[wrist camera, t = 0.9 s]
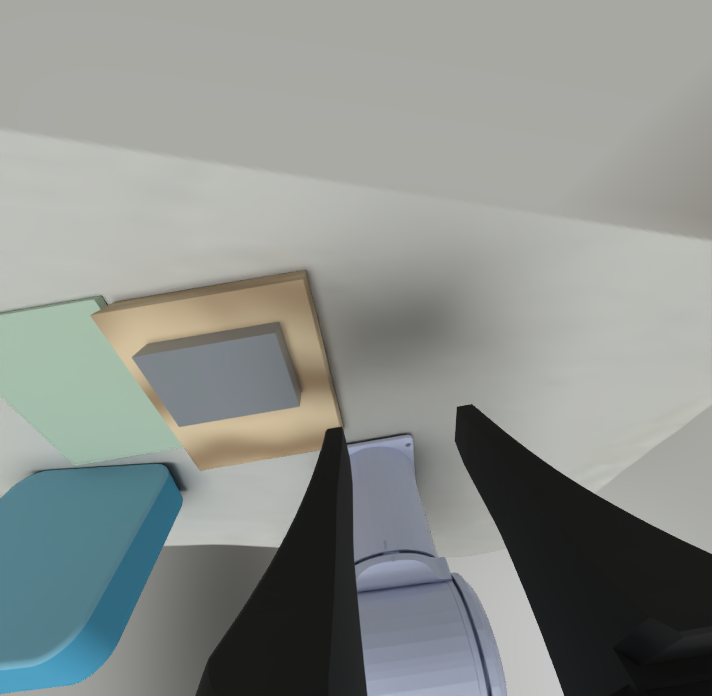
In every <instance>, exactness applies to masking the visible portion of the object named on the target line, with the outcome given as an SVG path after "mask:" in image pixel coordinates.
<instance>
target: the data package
mask: <svg viewBox="0 0 712 696" xmlns="http://www.w3.org/2000/svg"><path fill="white" fill-rule="evenodd" d="M182 502H183V499H182V495H181V494H180V492H179V490H178V488H177V486H176V484H175V482H174V480H173V478H172V476H171V474H170V472H169V471H168V469H167V467H166V466H164V465H162V464H142V465H126V466H110V467H94V468H78V469H62V470H48V471H43V472H39V473H36V474H34V475H31V476H29V477H27V478H25V479H24V480H22V481H20V482H19V483H17V484H16V485H15V486H13V487H12V488H11V489H10V490H9V491H8V492H7V493H6V494H5V495H4V496H2V497H1V498H0V694H3V693H11V692H19V691H27V690H35V689H43V688H51V687H59V686H67V685H73V684H76V683H79V682H81V681H82V680H84V679H86V678H88V677H89V676H91V674H93V673H94V672H96V671H97V670H98V669H99V668H100V667H101V666H102V665H103V664H104V663H105V661H106V660H107V659H108V658H109V656H110V655H111V654H112V652H113V651H114V649H115V647H116V646H117V644H118V642H119V640H120V637H121V636H122V633H123V631H124V629H125V627H126V625H127V623H128V620H129V618H130V616H131V614H132V612H133V610H134V607H135V605H136V603H137V601H138V599H139V597H140V595H141V592H142V590H143V588H144V586H145V584H146V582H147V579H148V577H149V575H150V573H151V571H152V569H153V566H154V564H155V562H156V560H157V558H158V556H159V554H160V551H161V549H162V547H163V545H164V543H165V541H166V539H167V536H168V534H169V532H170V530H171V528H172V526H173V523H174V521H175V519H176V517H177V515H178V513H179V511H180V508H181V506H182Z"/></svg>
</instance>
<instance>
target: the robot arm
mask: <svg viewBox="0 0 712 696" xmlns="http://www.w3.org/2000/svg"><path fill="white" fill-rule="evenodd" d="M455 442H456V445H457V448H458V450H459V453H460V455H461V458H462V460H463V463H464V465H465V467H466V469H467V471H468V473H469V475H470V477H471V478H472V480H473V482H474V484H475V486H476V488H477V490H478V492H479V493H480V495H481V497H482V499H483V501H484V503H485V505H486V506H487V508H488V510H489V512H490V514H491V516H492V518H493V520H494V521H495V523H496V526H497V528H498V530H499V532H500V534H501V536H502V538H503V541H504V543H505V545H506V548H507V550H508V552H509V554H510V557H511V559H512V561H513V563H514V566H515V569H516V571H517V573H518V576H519V578H520V581H521V583H522V585H523V588H524V590H525V593H526V595H527V598H528V600H529V603H530V605H531V608H532V610H533V613H534V616H535V618H536V621H537V623H538V626H539V628H540V631H541V633H542V636H543V639H544V642H545V644H546V647H547V650H548V652H549V655H550V658H551V660H552V663H553V665H554V668H555V671H556V674H557V677H558V679H559V682H560V684H561V688H562V691H563V693H564V696H712V554H710V553H708V552H706V551H704V550H702V549H700V548H698V547H695V546H693V545H691V544H689V543H687V542H685V541H682V540H680V539H678V538H676V537H674V536H672V535H670V534H668V533H666V532H664V531H662V530H660V529H658V528H656V527H654V526H652V525H650V524H648V523H646V522H645V521H643V520H641V519H639V518H637V517H635V516H633V515H631V514H630V513H628V512H626V511H624V510H622V509H620V508H619V507H617V506H615V505H613V504H612V503H610V502H608V501H606V500H604V499H603V498H601V497H599V496H597V495H596V494H594V493H592V492H591V491H589V490H587V489H586V488H584V487H582V486H581V485H579V484H578V483H576V482H574V481H573V480H571V479H570V478H568V477H566V476H565V475H563V474H562V473H560V472H559V471H557V470H556V469H554V468H553V467H552V466H550V465H549V464H547V463H546V462H544V461H543V460H542V459H540V458H539V457H537V456H536V455H535V454H533V453H532V452H531V451H529V450H528V449H526V448H525V447H524V446H523V445H521V444H520V443H519V442H517V441H516V440H515V439H514V438H512V437H511V436H510V435H508V434H507V433H506V432H505V431H503V430H502V429H501V428H500V427H499V426H497V425H496V424H495V423H494V422H493V421H491V420H490V419H489V418H488V417H487V416H485V415H484V414H483V413H482V412H481V411H480V410H478V409H477V408H476V407H475V406H473V405H472V404H471V405H465V406H459V407H457V416H456V431H455ZM407 443H408V444H407ZM196 696H507V690H506V681H505V676H504V671H503V666H502V662H501V658H500V654H499V650H498V647H497V644H496V641H495V637H494V634H493V631H492V628H491V626H490V623H489V620H488V618H487V615H486V613H485V610H484V608H483V606H482V604H481V602H480V600H479V598H478V596H477V594H476V593H475V591H474V590H473V588H472V587H471V586H470V585H469V584H468V583H467V582H466V581H465V580H464V579H463V577H462V576H461V575H459V574H458V573H450V571H449V567H448V565H447V561H446V558H445V557H438V556H437V552H436V549H435V545H434V542H433V539H432V535H431V532H430V529H429V525H428V522H427V519H426V515H425V512H424V508H423V505H422V502H421V498H420V495H419V492H418V488H417V485H416V482H415V467H414V448H413V438H412V436H411V435H402V436H397V437H391V438H385V439H379V440H373V441H367V442H361V443H355V444H350V445H347V444H346V440H345V435H344V431H343V427H342V426H341V427H335V428H330V429H327V430H326V431H325V436H324V440H323V444H322V448H321V451H320V455H319V458H318V461H317V464H316V467H315V470H314V472H313V475H312V478H311V481H310V483H309V486H308V488H307V491H306V493H305V495H304V498H303V500H302V503H301V505H300V507H299V509H298V512H297V514H296V516H295V518H294V520H293V522H292V524H291V526H290V528H289V530H288V532H287V534H286V536H285V538H284V540H283V542H282V544H281V545H280V547H279V549H278V551H277V553H276V555H275V556H274V558H273V560H272V562H271V564H270V565H269V567H268V569H267V571H266V572H265V574H264V575H263V577H262V579H261V580H260V582H259V583H258V585H257V587H256V588H255V590H254V591H253V593H252V595H251V597H250V598H249V600H248V601H247V603H246V604H245V606H244V607H243V609H242V610H241V612H240V614H239V615H238V616H237V618H236V619H235V621H234V622H233V624H232V625H231V627H230V628H229V630H228V631H227V633H226V634H225V635H224V637H223V638H222V640H221V641H220V643H219V644H218V646H217V647H216V649H215V650H214V651H213V653H212V654H211V656H210V657H209V659H208V662H207V664H206V667H205V670H204V672H203V675H202V678H201V681H200V684H199V687H198V690H197V693H196Z"/></svg>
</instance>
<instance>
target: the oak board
mask: <svg viewBox="0 0 712 696" xmlns="http://www.w3.org/2000/svg"><path fill="white" fill-rule="evenodd" d="M90 316H91V318H92V319H93V320H94V322H95V323H96V325H97V326H98V328H99V329H100V330H101V332H102V333H103V335H104V336H105V337H106V339H107V340H108V342H109V343H110V344H111V346H112V347H113V349H114V350H115V351H116V353H117V354H118V356H119V357H120V359H121V360H122V361H123V363H124V364H125V366H126V367H127V368H128V370H129V371H130V373H131V374H132V375H133V377H134V378H135V380H136V381H137V382H138V384H139V385H140V387H141V388H142V390H143V391H144V392H145V394H146V395H147V397H148V398H149V399H150V401H151V402H152V404H153V405H154V406H155V408H156V409H157V411H158V412H159V414H160V415H161V416H162V418H163V419H164V421H165V422H166V423H167V425H168V426H169V428H170V429H171V430H172V432H173V433H174V435H175V436H176V437H177V439H178V440H179V442H180V443H181V445H182V446H183V447H184V449H185V450H186V452H187V453H188V454H189V456H190V457H191V459H192V460H193V461H194V463H195V464H196V466H197V467H198V469H199V470H200V471H201V470H207V469H213V468H219V467H225V466H231V465H236V464H242V463H248V462H254V461H260V460H266V459H272V458H278V457H283V456H289V455H295V454H301V453H307V452H313V451H319V450H321V448H322V444H323V440H324V436H325V431H326V430H327V429H330V428H335V427H341V426H342V427H343V424H342V420H341V415H340V411H339V407H338V403H337V399H336V394H335V390H334V386H333V382H332V378H331V373H330V369H329V365H328V361H327V357H326V353H325V348H324V344H323V340H322V336H321V332H320V327H319V323H318V319H317V315H316V311H315V306H314V302H313V298H312V294H311V290H310V286H309V281H308V277H307V273H306V270H302V271H296V272H290V273H284V274H278V275H272V276H267V277H261V278H255V279H249V280H243V281H237V282H231V283H225V284H219V285H213V286H207V287H201V288H196V289H190V290H184V291H178V292H172V293H166V294H160V295H154V296H148V297H142V298H136V299H131V300H125V301H119V302H114V303H112V304H110V305H108V306H106V307H104V308H102V309H101V310H99V311H97V312H95V313H93V314H91V315H90ZM273 322H280V325H281V328H282V332H283V335H284V338H285V341H286V344H287V347H288V350H289V353H290V356H291V360H292V363H293V366H294V369H295V372H296V375H297V378H298V381H299V385H300V388H301V391H302V394H301V402H300V407H295V408H289V409H283V410H277V411H271V412H265V413H259V414H253V415H247V416H242V417H236V418H230V419H224V420H218V421H212V422H206V423H200V424H195V425H189V426H183V427H179V426H178V425H177V423H176V422H175V420H174V419H173V417H172V416H171V414H170V413H169V412H168V410H167V409H166V407H165V406H164V404H163V403H162V401H161V400H160V398H159V397H158V395H157V394H156V392H155V391H154V390H153V388H152V387H151V385H150V384H149V382H148V381H147V379H146V378H145V376H144V375H143V373H142V372H141V371H140V369H139V368H138V366H137V365H136V363H135V362H134V360H133V359H132V356H134V355H135V354H136V353H137V352H138V351H139V350H141V349H142V348H143V347H144V346H145V345H146V344H149V343H155V342H161V341H167V340H173V339H179V338H185V337H191V336H196V335H202V334H208V333H214V332H220V331H226V330H232V329H238V328H244V327H250V326H256V325H261V324H267V323H273ZM343 431H344V429H343Z"/></svg>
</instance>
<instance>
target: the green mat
mask: <svg viewBox="0 0 712 696" xmlns="http://www.w3.org/2000/svg"><path fill="white" fill-rule="evenodd" d="M106 306H108V305H107V304H106V302H105V301H104V299H103V298H102V296H98V297H92V298H86V299H80V300H74V301H68V302H62V303H57V304H51V305H45V306H39V307H33V308H27V309H21V310H15V311H9V312H3V313H0V397H1V398H2V399H3V400H5V401H6V402H7V403H8V404H9V405H10V406H11V407H12V408H13V409H14V410H15V411H16V412H17V413H18V414H20V415H21V416H22V417H23V418H24V419H25V420H26V421H27V422H28V423H29V424H30V425H31V426H32V427H34V428H35V429H36V430H37V431H38V432H39V433H40V434H41V435H42V436H43V437H44V438H45V439H46V440H48V441H49V442H50V443H51V444H52V445H53V446H54V447H55V448H56V449H57V450H58V451H59V452H60V453H62V454H63V455H64V456H65V457H66V458H67V459H68V460H69V461H70V462H71V463H72V464H73V465H74V466H76V465H82V464H88V463H94V462H100V461H106V460H112V459H118V458H123V457H129V456H135V455H141V454H147V453H153V452H159V451H165V450H171V449H176V448H182V447H183V446H182V445H181V443H180V442H179V440H178V439H177V437H176V436H175V435H174V433H173V432H172V430H171V429H170V428H169V426H168V425H167V423H166V422H165V421H164V419H163V418H162V416H161V415H160V414H159V412H158V411H157V409H156V408H155V406H154V405H153V404H152V402H151V401H150V399H149V398H148V397H147V395H146V394H145V392H144V391H143V390H142V388H141V387H140V385H139V384H138V382H137V381H136V380H135V378H134V377H133V375H132V374H131V373H130V371H129V370H128V368H127V367H126V366H125V364H124V363H123V361H122V360H121V359H120V357H119V356H118V354H117V353H116V351H115V350H114V349H113V347H112V346H111V344H110V343H109V342H108V340H107V339H106V337H105V336H104V335H103V333H102V332H101V330H100V329H99V328H98V326H97V325H96V323H95V322H94V320H93V319H92V318H91V316H90V315H91V314H93V313H95V312H97V311H99V310H101V309H102V308H104V307H106Z"/></svg>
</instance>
